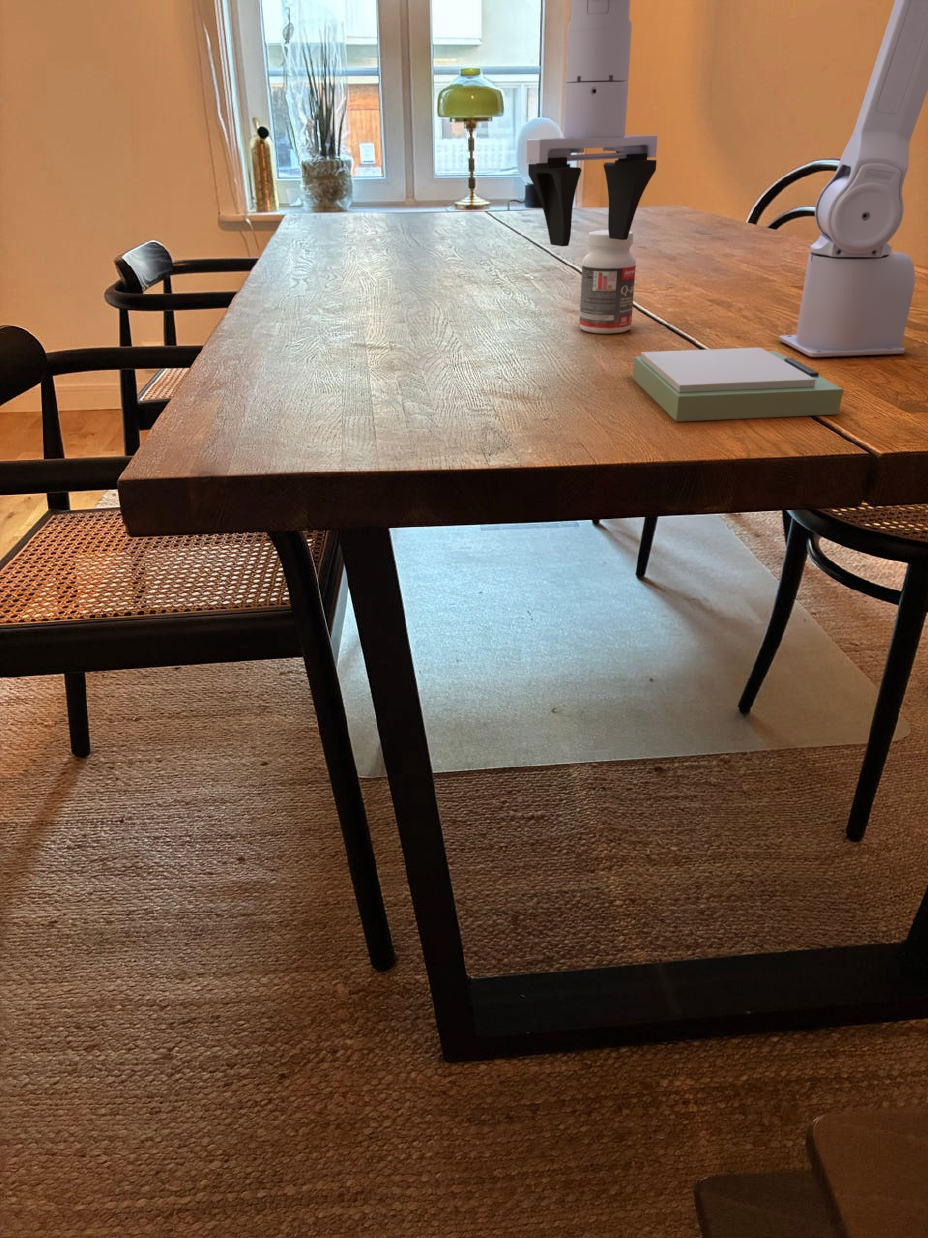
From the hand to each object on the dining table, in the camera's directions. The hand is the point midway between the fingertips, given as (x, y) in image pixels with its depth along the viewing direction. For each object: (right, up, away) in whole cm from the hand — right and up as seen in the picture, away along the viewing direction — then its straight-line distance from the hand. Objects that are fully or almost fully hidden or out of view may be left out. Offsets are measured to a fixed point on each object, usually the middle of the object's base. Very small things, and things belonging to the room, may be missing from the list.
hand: (589, 241), depth 89 cm
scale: (+10, -19, -14) cm, 25 cm away
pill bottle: (+3, -6, +10) cm, 12 cm away
